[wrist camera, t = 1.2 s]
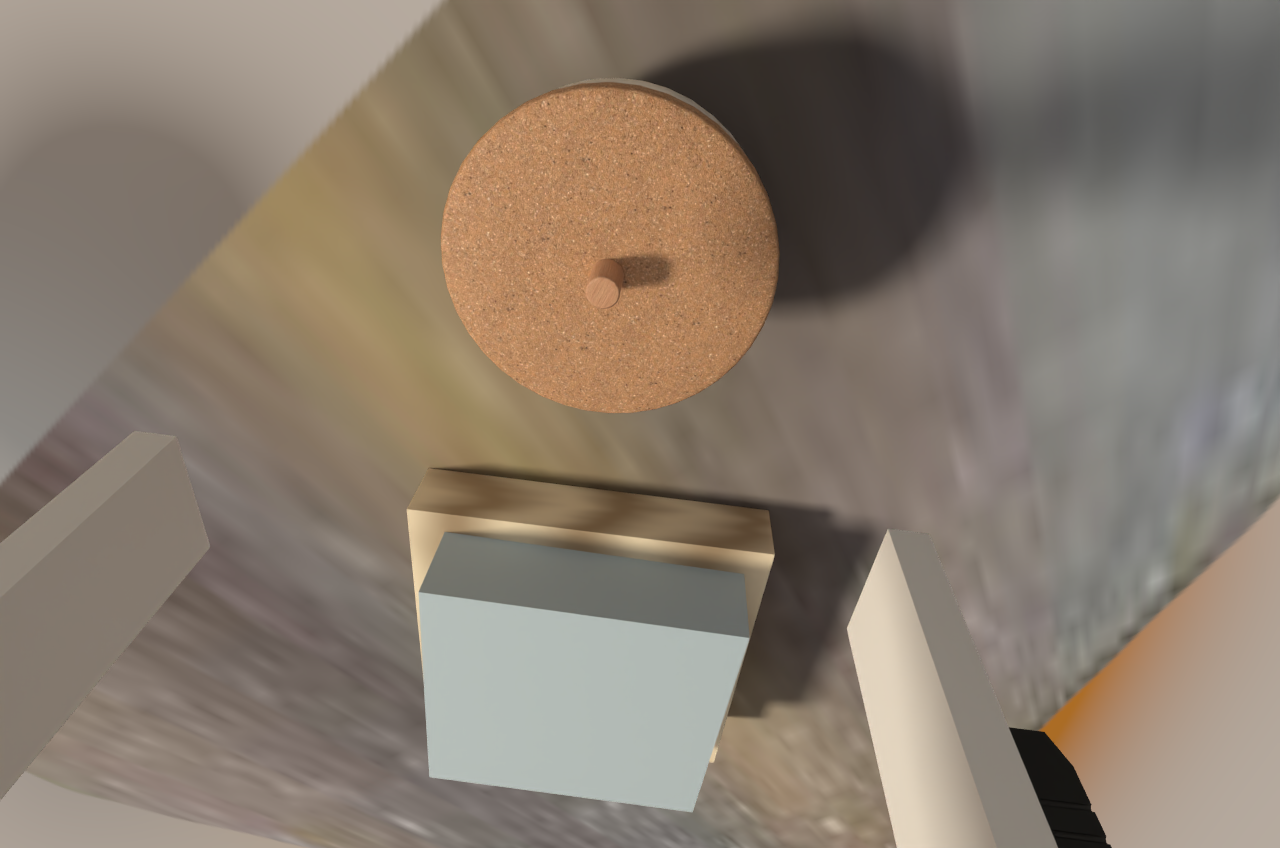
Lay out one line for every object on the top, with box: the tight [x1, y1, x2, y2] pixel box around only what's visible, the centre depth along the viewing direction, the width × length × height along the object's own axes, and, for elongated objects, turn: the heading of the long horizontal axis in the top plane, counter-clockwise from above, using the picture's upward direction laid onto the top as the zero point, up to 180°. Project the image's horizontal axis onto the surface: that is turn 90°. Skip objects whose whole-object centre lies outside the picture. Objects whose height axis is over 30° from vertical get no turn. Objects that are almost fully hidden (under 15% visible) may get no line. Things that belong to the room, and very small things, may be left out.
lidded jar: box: [441, 78, 780, 413], centre depth 25 cm, size 11×11×9 cm
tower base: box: [407, 468, 775, 763], centre depth 41 cm, size 18×18×4 cm
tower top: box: [418, 532, 750, 812], centre depth 37 cm, size 15×15×4 cm
